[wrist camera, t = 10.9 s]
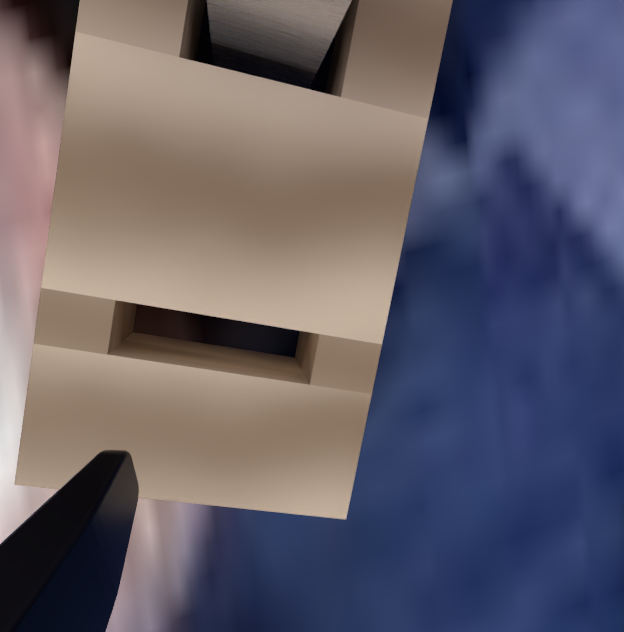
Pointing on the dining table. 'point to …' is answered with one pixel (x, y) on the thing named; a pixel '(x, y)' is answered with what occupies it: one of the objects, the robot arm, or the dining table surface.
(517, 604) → the dining table surface
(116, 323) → the socket block
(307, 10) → the square bit
